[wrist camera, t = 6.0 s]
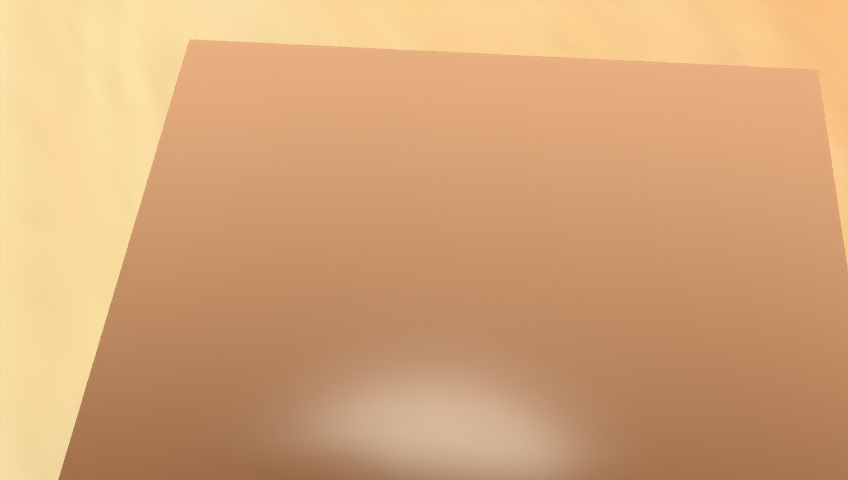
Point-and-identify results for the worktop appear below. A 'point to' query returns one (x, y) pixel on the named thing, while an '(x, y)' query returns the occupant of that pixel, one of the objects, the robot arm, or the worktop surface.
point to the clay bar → (476, 275)
